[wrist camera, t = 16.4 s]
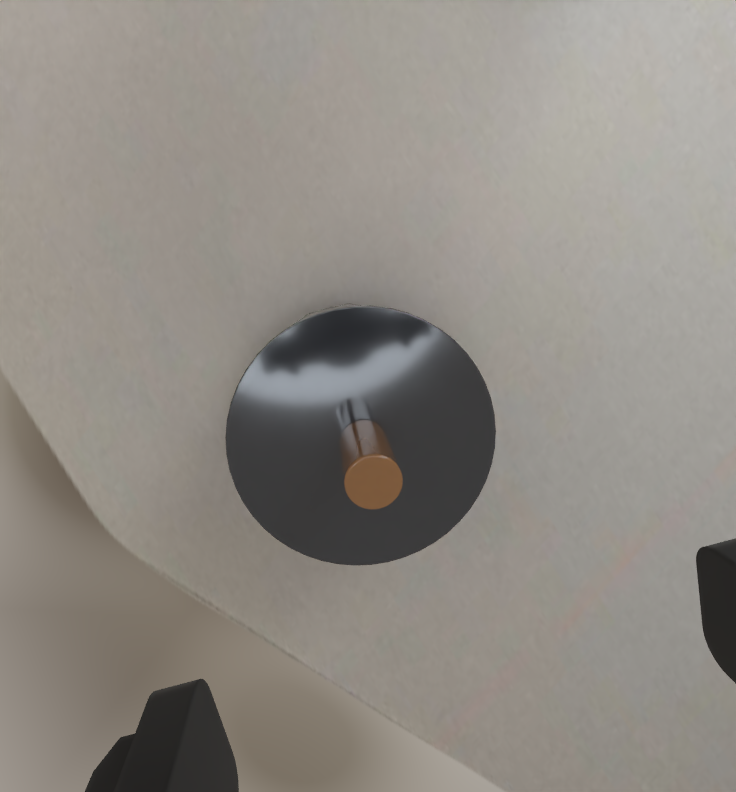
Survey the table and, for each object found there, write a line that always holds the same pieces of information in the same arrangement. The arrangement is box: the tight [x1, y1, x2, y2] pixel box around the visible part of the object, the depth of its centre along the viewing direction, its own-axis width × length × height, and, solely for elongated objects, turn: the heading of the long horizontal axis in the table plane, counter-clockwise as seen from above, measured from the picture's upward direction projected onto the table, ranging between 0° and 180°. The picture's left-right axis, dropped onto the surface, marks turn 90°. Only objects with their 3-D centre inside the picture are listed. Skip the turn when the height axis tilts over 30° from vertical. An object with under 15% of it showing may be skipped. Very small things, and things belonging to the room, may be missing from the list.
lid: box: [226, 306, 496, 565], centre depth 24 cm, size 12×12×5 cm
